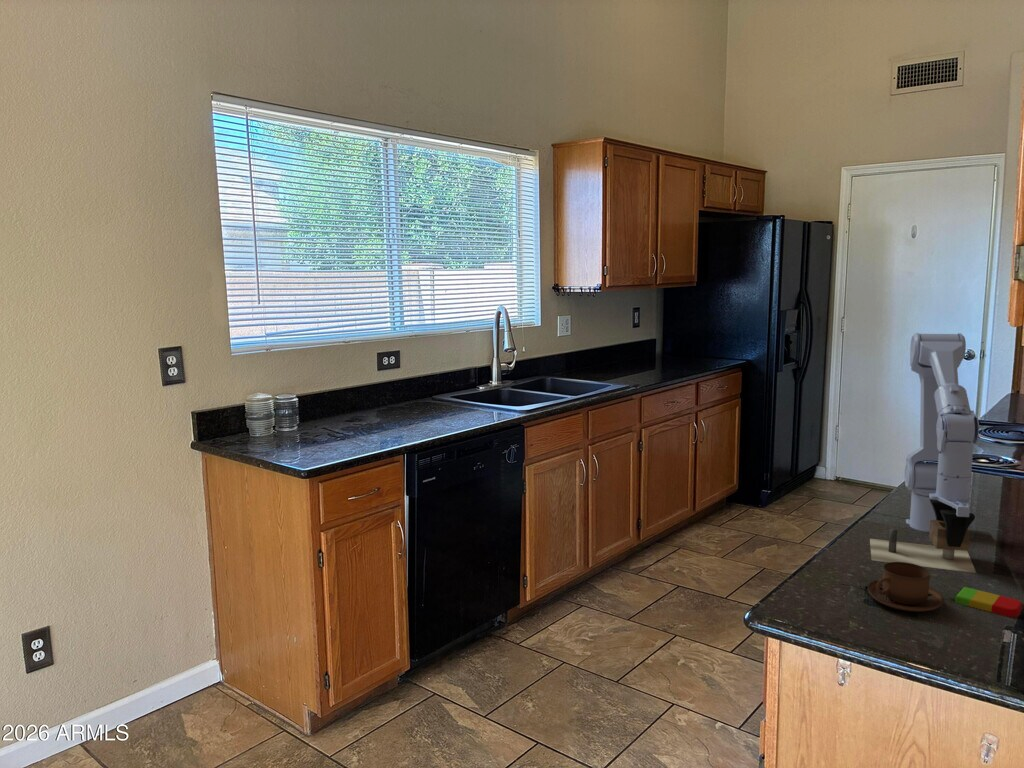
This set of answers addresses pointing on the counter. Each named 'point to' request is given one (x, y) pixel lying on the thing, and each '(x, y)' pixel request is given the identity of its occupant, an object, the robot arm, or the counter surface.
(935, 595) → the cup and saucer
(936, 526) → the collar
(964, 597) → the popsicle
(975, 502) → the counter surface
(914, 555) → the fitting board
